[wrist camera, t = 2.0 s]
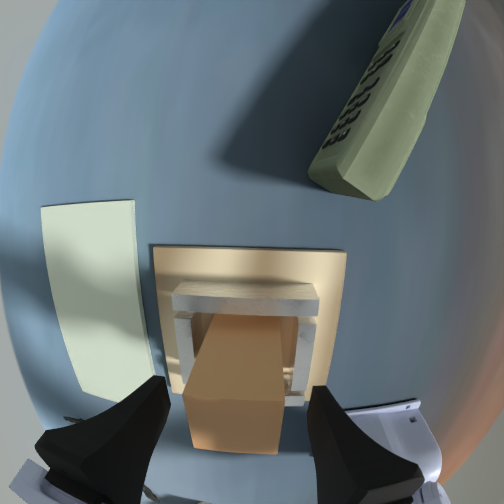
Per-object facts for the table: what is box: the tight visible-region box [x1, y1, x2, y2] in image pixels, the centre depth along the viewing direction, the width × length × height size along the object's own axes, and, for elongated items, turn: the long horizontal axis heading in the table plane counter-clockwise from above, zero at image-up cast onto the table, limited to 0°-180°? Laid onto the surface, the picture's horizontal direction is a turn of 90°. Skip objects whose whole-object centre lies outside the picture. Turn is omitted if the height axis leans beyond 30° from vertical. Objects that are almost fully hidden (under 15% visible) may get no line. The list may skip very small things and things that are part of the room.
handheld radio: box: [308, 0, 466, 201], centre depth 10 cm, size 7×3×25 cm
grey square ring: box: [171, 279, 320, 406], centre depth 16 cm, size 8×8×2 cm
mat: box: [41, 200, 155, 402], centre depth 18 cm, size 9×18×1 cm, turn 179°
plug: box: [182, 313, 285, 454], centre depth 14 cm, size 4×4×8 cm
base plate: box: [153, 245, 347, 401], centre depth 18 cm, size 12×12×1 cm
